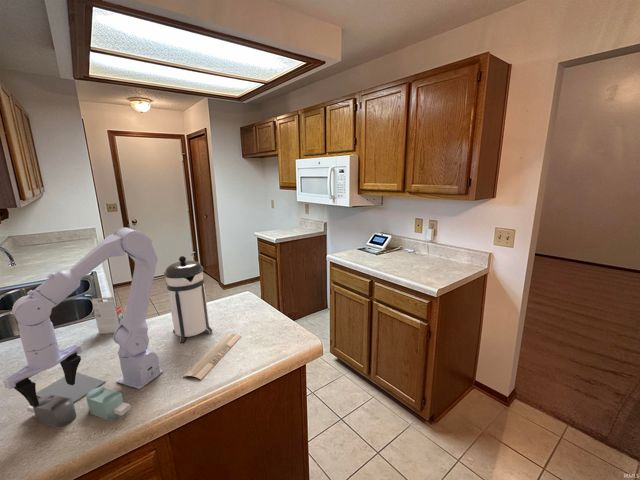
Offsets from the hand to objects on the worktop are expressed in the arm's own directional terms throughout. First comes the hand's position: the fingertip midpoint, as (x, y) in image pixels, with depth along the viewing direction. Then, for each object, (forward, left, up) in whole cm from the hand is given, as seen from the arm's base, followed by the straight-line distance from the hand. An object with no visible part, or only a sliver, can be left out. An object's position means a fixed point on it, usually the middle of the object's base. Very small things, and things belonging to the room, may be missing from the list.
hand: (53, 394), depth 73 cm
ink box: (+28, -33, -6) cm, 44 cm away
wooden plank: (-21, -33, -7) cm, 40 cm away
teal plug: (-11, -5, -6) cm, 14 cm away
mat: (+8, -7, -6) cm, 12 cm away
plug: (+1, +1, -6) cm, 6 cm away
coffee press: (-2, -42, -6) cm, 43 cm away
